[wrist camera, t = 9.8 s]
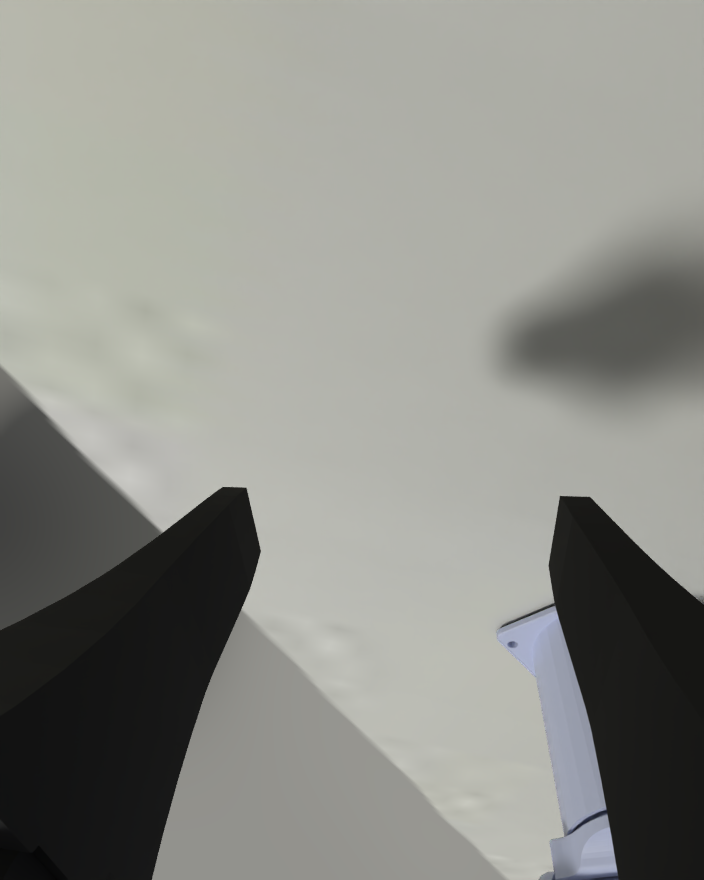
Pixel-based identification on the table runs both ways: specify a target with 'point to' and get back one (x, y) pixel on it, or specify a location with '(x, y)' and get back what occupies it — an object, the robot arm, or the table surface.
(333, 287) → the table surface
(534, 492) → the table surface
